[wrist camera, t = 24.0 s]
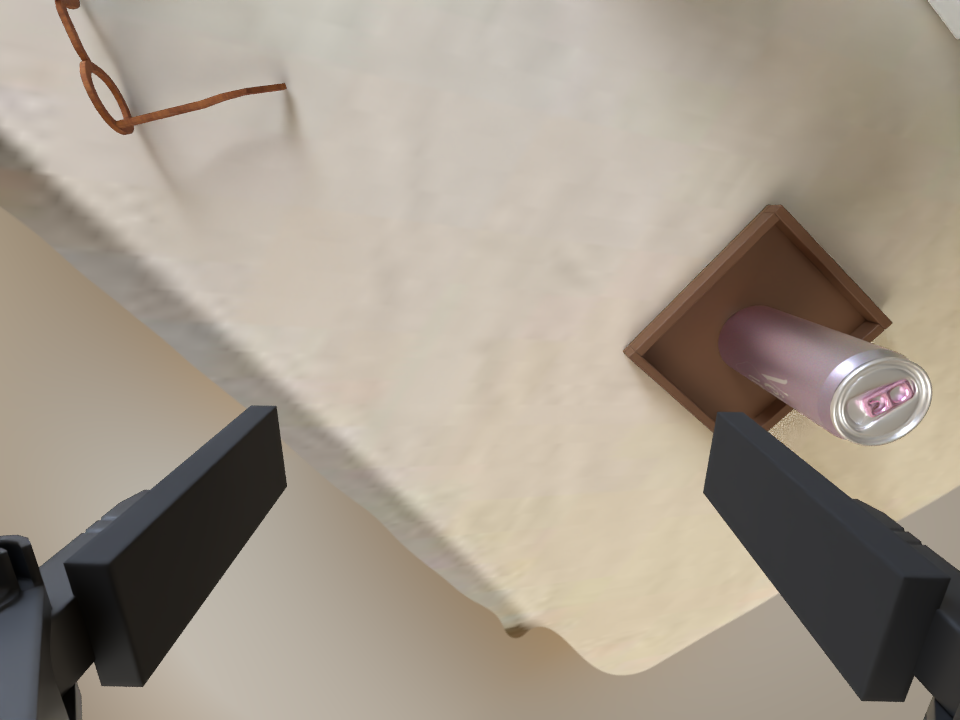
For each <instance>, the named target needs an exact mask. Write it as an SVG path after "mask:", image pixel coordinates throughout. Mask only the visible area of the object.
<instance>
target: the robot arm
mask: <svg viewBox="0 0 960 720" xmlns="http://www.w3.org/2000/svg"><path fill="white" fill-rule="evenodd" d="M286 487H287V483H286V475H285V467H284V460H283V452H282V445H281V437H280V429H279V422H278V414H277V407H276V406H250V407H249V408H247V409H246V410H245V411H244V412H243V413H242V414H240V415H239V416H238V417H237V418H236V419H234V420H233V421H232V422H231V423H230V424H228V425H227V426H226V427H225V428H224V429H222V430H221V431H220V432H219V433H218V434H216V435H215V436H214V437H213V438H212V439H210V440H209V441H208V442H207V443H206V444H205V445H203V446H202V447H201V448H200V449H199V450H197V451H196V452H195V453H194V454H193V455H191V456H190V457H189V458H188V459H187V460H186V461H184V462H183V463H182V464H181V465H180V466H178V467H177V468H176V469H175V470H174V471H172V472H171V473H170V474H169V475H168V476H166V477H165V478H164V479H163V480H162V481H160V482H159V483H158V484H157V485H156V486H155V487H153V488H152V489H151V490H143V491H141V492H139V493H138V494H135V495H134V496H132V497H130V498H128V499H126V500H124V501H122V502H120V503H119V504H117V505H116V506H115V507H114V508H113V509H111V510H110V511H109V512H107V513H106V514H105V515H104V516H102V518H101V520H98V521H96V522H95V523H94V524H93V525H91V526H90V527H89V528H88V529H86V532H85V533H81V534H80V535H79V536H78V537H76V538H75V539H74V540H73V541H71V542H70V543H69V544H68V545H67V546H65V547H64V548H63V549H61V550H60V551H59V552H58V553H56V554H55V555H54V556H53V557H51V558H50V559H49V560H48V561H46V562H45V563H44V564H43V565H42V566H40V567H38V564H37V561H36V558H35V555H34V552H33V549H32V546H31V543H30V541H29V539H28V538H27V537H23V536H19V535H6V536H0V720H82V705H81V704H82V700H81V693H80V690H79V687H78V684H77V681H78V679H79V678H80V677H81V676H82V675H83V674H84V672H85V671H86V670H87V669H88V668H89V667H90V665H91V664H92V663H93V662H94V663H95V666H96V670H97V673H98V676H99V679H100V682H101V685H102V686H124V687H127V686H128V687H143V686H144V685H145V683H146V682H147V680H148V679H149V678H150V676H151V675H152V674H153V672H154V671H155V669H156V668H157V667H158V665H159V664H160V662H161V661H162V660H163V658H164V657H165V655H166V654H167V653H168V651H169V650H170V648H171V647H172V646H173V644H174V643H175V641H176V640H177V639H178V637H179V636H180V634H181V633H182V632H183V630H184V629H185V628H186V626H187V624H188V623H189V622H190V621H191V619H192V618H193V616H194V615H195V614H196V612H197V611H198V609H199V608H200V607H201V605H202V604H203V602H204V601H205V600H206V598H207V597H208V596H209V594H210V593H211V591H212V590H213V589H214V587H215V586H216V584H217V583H218V581H219V580H220V579H221V577H222V576H223V575H224V573H225V572H226V570H227V569H228V568H229V566H230V565H231V563H232V562H233V561H234V559H235V558H236V557H237V555H238V554H239V552H240V551H241V550H242V548H243V547H244V545H245V544H246V543H247V541H248V540H249V538H250V537H251V536H252V534H253V533H254V531H255V530H256V529H257V527H258V526H259V525H260V523H261V522H262V520H263V519H264V518H265V516H266V515H267V513H268V512H269V511H270V509H271V508H272V506H273V505H274V504H275V502H276V501H277V499H278V498H279V497H280V495H281V494H282V493H283V491H284V490H285V488H286ZM703 493H704V494H705V496H706V497H707V498H708V500H709V501H710V502H711V504H712V505H713V506H714V507H715V509H716V510H717V511H718V513H719V514H720V515H721V517H722V518H723V519H724V521H725V522H726V523H727V525H728V526H729V527H730V529H731V530H732V531H733V532H734V534H735V535H736V536H737V538H738V539H739V540H740V542H741V543H742V544H743V546H744V547H745V548H746V550H747V551H748V552H749V554H750V555H751V556H752V557H753V559H754V560H755V561H756V563H757V564H758V565H759V567H760V568H761V569H762V571H763V572H764V573H765V575H766V576H767V577H768V579H769V580H770V581H771V582H772V584H773V585H774V586H775V588H776V589H777V590H778V592H779V593H780V594H781V596H782V597H783V598H784V600H785V601H786V602H787V603H788V605H789V606H790V607H791V609H792V610H793V611H794V613H795V614H796V615H797V617H798V618H799V619H800V621H801V622H802V623H803V625H804V626H805V627H806V629H807V630H808V631H809V632H810V634H811V635H812V636H813V638H814V639H815V640H816V642H817V643H818V644H819V646H820V647H821V648H822V650H823V651H824V652H825V654H826V655H827V656H828V657H829V659H830V660H831V661H832V663H833V664H834V665H835V667H836V668H837V669H838V671H839V672H840V673H841V674H842V676H843V677H844V679H845V680H846V681H847V682H848V684H849V685H850V686H851V687H852V689H853V690H854V691H855V693H856V694H857V696H858V697H859V698H860V700H861V701H888V702H892V701H893V702H904V701H905V698H906V695H907V693H908V690H909V688H910V685H911V683H912V680H913V677H914V676H915V677H916V678H917V679H918V680H919V681H920V682H921V683H922V684H923V685H924V686H925V688H926V689H927V690H928V691H929V692H930V693H931V694H932V695H933V697H932V700H931V702H930V705H929V707H928V710H927V712H926V714H925V717H924V719H923V720H960V571H959V570H957V569H956V568H955V567H953V566H952V565H951V564H950V563H948V562H947V561H946V560H944V559H943V558H942V557H940V556H939V555H938V554H936V553H935V552H934V551H932V550H931V549H930V548H929V547H927V546H926V545H922V544H921V541H920V540H918V539H917V538H916V537H914V536H913V535H912V534H911V533H909V532H905V531H904V528H903V527H901V526H900V525H899V524H898V523H896V522H895V521H894V520H892V519H891V518H890V517H888V516H887V515H886V514H885V513H883V512H881V511H879V510H877V509H875V508H873V507H871V506H869V505H868V504H866V503H864V502H862V501H860V500H858V499H852V498H850V497H849V496H848V495H847V494H845V493H844V492H843V491H842V490H840V489H839V488H838V487H836V486H835V485H834V484H833V483H831V482H830V481H829V480H828V479H826V478H825V477H824V476H823V475H821V474H820V473H819V472H818V471H816V470H815V469H814V468H813V467H811V466H810V465H809V464H808V463H806V462H805V461H804V460H803V459H801V458H800V457H799V456H798V455H796V454H795V453H794V452H793V451H791V450H790V449H789V448H788V447H786V446H785V445H784V444H783V443H781V442H780V441H779V440H777V439H776V438H775V437H774V436H772V435H771V434H770V433H769V432H767V431H766V430H765V429H764V428H762V427H761V426H760V425H759V424H757V423H756V422H755V421H754V420H752V419H751V418H750V417H749V416H747V415H746V414H745V413H744V412H717V416H716V422H715V427H714V433H713V439H712V445H711V450H710V456H709V462H708V468H707V473H706V479H705V485H704V491H703Z"/></svg>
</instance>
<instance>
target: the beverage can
mask: <svg viewBox="0 0 960 720" xmlns="http://www.w3.org/2000/svg"><path fill="white" fill-rule="evenodd" d="M718 348H719V353H720V355H721V357H722V359H723V360H724V362H725V363H726V364H727V365H728V366H730V367H731V368H733V369H734V370H736V371H737V372H739V373H740V374H742V375H743V376H745V377H746V378H748V379H749V380H751V381H753V382H754V383H756V384H757V385H759V386H760V387H762V388H763V389H765V390H766V391H768V392H769V393H771V394H772V395H774V396H775V397H777V398H778V399H780V400H781V401H783V402H784V403H786V404H788V405H789V406H791V407H792V408H794V409H795V410H797V411H798V412H800V413H801V414H803V415H804V416H806V417H807V418H809V419H810V420H812V421H813V422H815V423H816V424H818V425H820V426H821V427H823V428H824V429H826V430H827V431H829V432H830V433H832V434H833V435H835V436H837V437H839V438H842V439H846V440H848V441H850V442H853V443H855V444H858V445H863V446H879V445H884V444H888V443H891V442H894V441H896V440H898V439H900V438H902V437H904V436H905V435H907V434H908V433H909V432H911V431H912V430H913V429H914V428H915V427H916V426H917V425H918V424H919V423H920V422H921V421H922V419H923V418H924V416H925V415H926V413H927V411H928V409H929V407H930V404H931V400H932V384H931V381H930V378H929V376H928V375H927V373H926V372H925V370H924V369H923V368H922V367H920V366H919V365H918V364H916V363H914V362H912V361H910V360H909V359H908V358H907V357H905V356H904V355H902V354H900V353H898V352H895V351H892V350H889V349H887V348H884V347H881V346H878V345H875V344H872V343H870V342H867V341H864V340H861V339H858V338H855V337H853V336H850V335H847V334H844V333H841V332H838V331H836V330H833V329H830V328H827V327H824V326H821V325H819V324H816V323H813V322H810V321H807V320H805V319H802V318H799V317H796V316H793V315H790V314H788V313H785V312H782V311H779V310H776V309H773V308H771V307H767V306H751V307H747V308H744V309H742V310H740V311H738V312H737V313H735V314H734V315H733V316H731V317H730V318H729V319H728V320H727V322H726V323H725V324H724V326H723V328H722V330H721V332H720V335H719V340H718Z"/></svg>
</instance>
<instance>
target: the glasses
mask: <svg viewBox="0 0 960 720" xmlns="http://www.w3.org/2000/svg"><path fill="white" fill-rule="evenodd" d="M55 4H56V8H57V11H58V14H59V16H60V18H61V21H62V23H63V25H64V27H65V29H66V32H67V34H68V36H69V38H70V40H71V43H72V45H73V47H74V48H75V50H76V52H77V54H78V55H79V57H80V58H81V60H82V62H80V75H81V79H82V82H83V84H84V87H85V89H86V91H87V93H88V96H89V98H90V99H91V101H92V103H93V105H94V106H95V108H96V110H97V111H98V113H99V114H100V115H101V117H102V118H103V119H104V121H105V122H106V123H107V124H108V125H109V126H110V127H111V128H112V129H113V130H115V131H116V132H118V133H120V134H122V135H127V134H131V133H132V132H133V131H134V125H138V124H142V123H146V122H150V121H154V120H158V119H163V118H167V117H171V116H175V115H179V114H183V113H187V112H191V111H195V110H199V109H203V108H207V107H209V106H212V105H215V104H217V103H220V102H223V101H226V100H229V99H233V98H237V97H240V96H244V95H250V94H257V93H265V92H272V91H279V90H284V89H287V88H286V85H285V83H282V84H275V85H267V86H259V87H251V88H244V89H240V90H235V91H231V92H226V93H222V94H218V95H216V96H213V97H210V98H207V99H204V100H201V101H197V102H193V103H189V104H185V105H181V106H177V107H173V108H169V109H165V110H160V111H156V112H152V113H148V114H144V115H140V116H136V117H131V114H130V111H129V109H128V106H127V104H126V102H125V100H124V98H123V96H122V94H121V93H120V91H119V89H118V88H117V86H116V85H115V83H114V82H113V81H112V79H111V78H110V77H109V76H108V75H107V74H106V73H105V72H104V71H103V70H102V69H101V68H99V67H98V66H97V65H95V64H94V63H92V62H91V60H90V58H89V57H88V55H87V53H86V51H85V50H84V48H83V46H82V43H81V41H80V39H79V37H78V34H77V32H76V30H75V28H74V25H73V23H72V21H71V19H70V17H69V14H68V12H67V9H66V8H69V9H77V8H79V7H80V1H79V0H55ZM91 73H94V74H95V75H97V76H98V77H99V78H100V79H102V80H103V81H104V82H105V84H106V85H107V86H108V88H109V89H110V90H111V92H112V93H113V95H114V97H115V99H116V100H117V102H118V105H119V107H120V109H121V111H122V114H123V118H124V119H123V120H119V121H116V120H114V119H113V118H112V116H111V115H110V114H109V113H108V111H107V110H106V109H105V107H104V105H103V104H102V102H101V100H100V99H99V97H98V95H97V92H96V90H95V88H94V85H93V82H92V78H91Z"/></svg>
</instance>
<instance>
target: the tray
mask: <svg viewBox="0 0 960 720" xmlns="http://www.w3.org/2000/svg"><path fill="white" fill-rule="evenodd" d="M751 306H767V307H771V308H773V309H776V310H779V311H782V312H785V313H788V314H790V315H793V316H796V317H799V318H802V319H805V320H807V321H810V322H813V323H816V324H819V325H821V326H824V327H827V328H830V329H833V330H836V331H838V332H841V333H844V334H847V335H850V336H853V337H855V338H858V339H861V340H864V341H867V342H871V341H873V340H874V339H875V338H876V337H877V336H878V335H879V334H881V333H882V332H883V331H884V329H886V328H888V327H889V326H890V325H891V324H892V322H891V321H890V319H889V318H888V317H887V316H886V315H885V314H884V313H883V312H882V311H881V310H880V309H879V308H878V307H877V306H876V305H875V304H874V302H873V301H872V300H871V299H870V298H869V297H868V296H867V295H866V294H865V293H864V292H863V291H862V290H861V289H860V288H859V287H858V285H857V284H856V283H855V282H854V281H853V280H852V279H851V278H850V277H849V276H848V275H847V274H846V273H845V272H844V271H843V269H842V268H841V267H840V266H839V265H838V264H837V263H836V262H835V261H834V260H833V259H832V258H831V257H830V256H829V255H828V254H827V252H826V251H825V250H824V249H823V248H822V247H821V246H820V245H819V244H818V243H817V242H816V241H815V240H814V239H813V238H812V237H811V235H810V234H809V233H808V232H807V231H806V230H805V229H804V228H803V227H802V226H801V225H800V224H799V223H798V222H797V221H796V219H795V218H794V217H793V216H792V215H791V214H790V213H789V212H788V211H787V210H786V209H785V208H784V207H783V206H782V205H767V206H766V207H765V208H764V209H763V210H762V211H761V212H760V213H759V214H758V215H757V216H756V217H755V218H754V219H753V220H752V221H751V222H750V223H749V224H748V225H747V226H746V227H745V228H744V229H743V230H742V231H741V232H740V233H739V234H738V235H737V236H736V237H735V238H734V239H733V240H732V241H731V242H730V243H729V244H728V245H727V246H726V247H725V248H724V249H723V250H722V252H721V253H720V254H719V255H718V256H717V257H716V258H715V259H714V260H713V261H712V262H711V263H710V264H709V265H708V266H707V267H706V268H705V269H704V270H703V271H702V272H701V273H700V274H699V275H698V276H697V277H696V278H695V279H694V280H693V281H692V282H691V283H690V284H689V285H688V286H687V287H686V288H685V289H684V290H683V291H682V292H681V293H680V294H679V295H678V296H677V297H676V298H675V299H674V300H673V301H672V302H671V303H670V304H669V305H668V306H667V307H666V308H665V309H664V310H663V311H662V312H661V313H660V314H659V315H658V316H657V317H656V318H655V319H654V320H653V321H652V322H651V323H650V324H649V325H648V326H647V327H646V328H645V329H644V330H643V331H642V332H641V333H640V334H639V335H638V336H637V337H636V338H635V339H634V340H633V341H632V342H631V343H630V344H629V345H628V346H627V347H626V348H625V349H624V350H623V352H624V353H625V354H626V355H627V356H628V357H629V358H630V359H631V360H632V361H633V362H634V363H635V364H636V365H637V366H639V367H640V368H641V369H642V370H643V371H644V372H645V373H646V374H648V375H649V376H650V377H651V378H652V379H653V380H654V381H655V382H657V383H658V384H659V385H660V386H661V387H662V388H663V389H664V390H666V391H667V392H668V393H669V394H670V395H671V396H672V397H674V398H675V399H676V400H677V401H678V402H679V403H680V404H681V405H683V406H684V407H685V408H686V409H687V410H688V411H689V412H690V413H692V414H693V415H694V416H695V417H696V418H697V419H698V420H699V421H701V422H702V423H703V424H704V425H705V426H706V427H707V428H708V429H710V430H711V431H712V432H713V433H714V427H715V422H716V416H717V412H744V413H745V414H746V415H747V416H749V417H750V418H751V419H752V420H754V421H755V422H756V423H757V424H759V425H760V426H761V427H762V428H764V429H765V430H766V431H768V430H770V429H771V428H772V427H773V426H774V425H775V424H776V423H778V422H779V421H780V420H781V419H782V418H783V417H785V416H786V415H787V414H788V413H789V412H790V411H792V410H793V409H794V408H792V407H791V406H789V405H788V404H786V403H784V402H783V401H781V400H780V399H778V398H777V397H775V396H774V395H772V394H771V393H769V392H768V391H766V390H765V389H763V388H762V387H760V386H759V385H757V384H756V383H754V382H753V381H751V380H749V379H748V378H746V377H745V376H743V375H742V374H740V373H739V372H737V371H736V370H734V369H733V368H731V367H730V366H728V365H727V364H726V363H725V362H724V360H723V359H722V357H721V355H720V353H719V348H718V340H719V335H720V332H721V330H722V328H723V326H724V324H725V323H726V322H727V320H728V319H729V318H730V317H731V316H733V315H734V314H735V313H737V312H738V311H740V310H742V309H744V308H747V307H751Z"/></svg>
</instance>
